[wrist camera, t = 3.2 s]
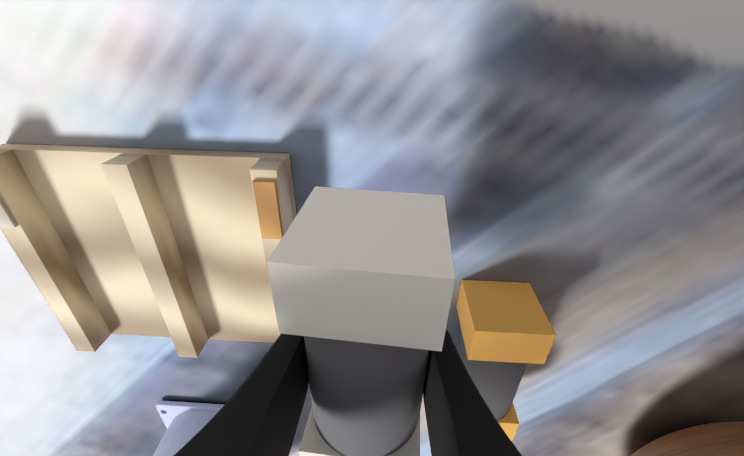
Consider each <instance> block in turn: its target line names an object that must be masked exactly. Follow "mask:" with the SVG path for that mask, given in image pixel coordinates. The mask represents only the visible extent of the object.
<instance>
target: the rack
mask: <svg viewBox="0 0 744 456" xmlns="http://www.w3.org/2000/svg"><path fill="white" fill-rule="evenodd" d="M296 216H297V214H296V205H295V196H294V187H293V177H292V168H291V159H290V153H269V152H239V151H209V150H180V149H150V148H121V147H91V146H62V145H32V144H2V145H0V229H1V231H2V232H3V234H4V235H5V237H6V239H7V240H8V242H9V243H10V245H11V247H12V248H13V250H14V251H15V253H16V254H17V256H18V258H19V259H20V261H21V262H22V264H23V266H24V267H25V269H26V270H27V272H28V274H29V275H30V277H31V278H32V280H33V281H34V283H35V285H36V286H37V288H38V289H39V291H40V293H41V294H42V296H43V297H44V299H45V300H46V302H47V304H48V305H49V307H50V308H51V310H52V312H53V313H54V315H55V316H56V318H57V320H58V321H59V323H60V324H61V326H62V327H63V329H64V331H65V332H66V334H67V335H68V337H69V339H70V340H71V342H72V343H73V345H74V347H75V348H76V350H77V351H92V352H95V351H96V350H97V349H98V348H99V347H100V345H101V344H102V343H103V342H104V341H105V340H106V339H107V338H108V337H109V336H110V334H125V335H143V336H162V337H171V338H172V340H173V343H174V345H175V348H176V350H177V352H178V355H179V356H180V357H198V356H199V354H200V352H201V350H202V349H203V347H204V345H205V344H206V342H207V340H208V339H216V340H234V341H253V342H271V343H275V341H276V340H277V338H278V337H279V336H280V334H281V333H279V331H278V325H277V319H276V313H275V307H274V301H273V295H272V289H271V283H270V278H269V272H268V266H267V261H268V259H269V258H270V256H271V255H272V253H273V252H274V250H275V248H276V247H277V245H278V244H279V242H280V241H281V239H282V237H283V236H284V234H285V233H286V231H287V230H288V228H289V227H290V225H291V223H292V222H293V220H294V219H295V217H296Z"/></svg>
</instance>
